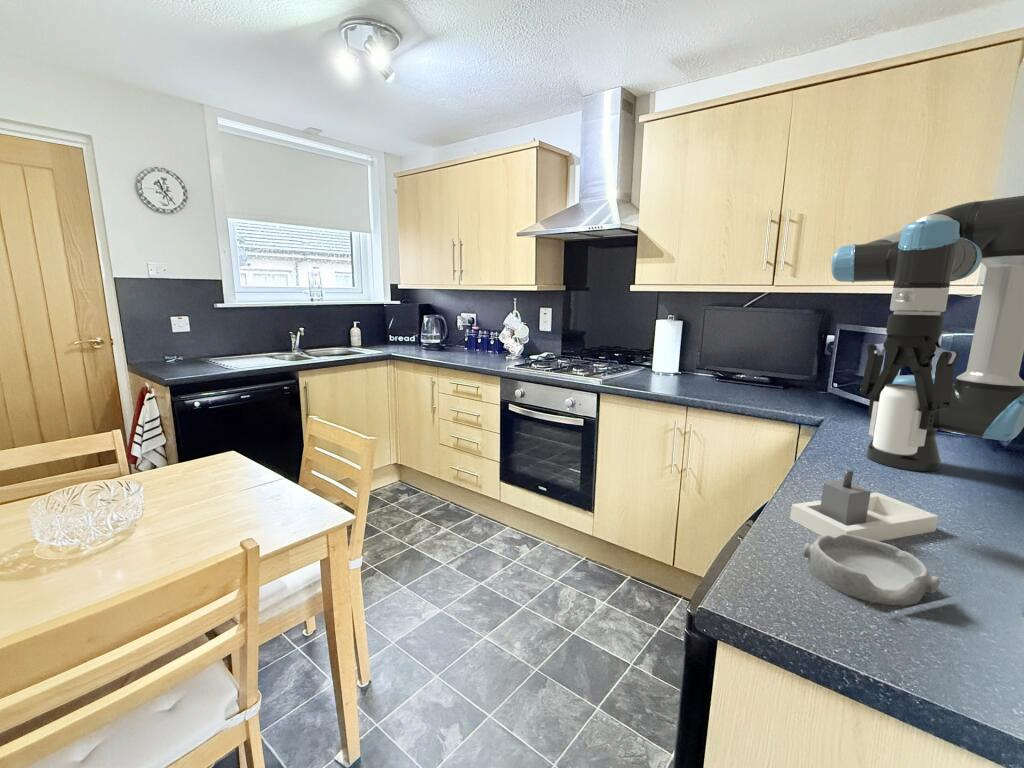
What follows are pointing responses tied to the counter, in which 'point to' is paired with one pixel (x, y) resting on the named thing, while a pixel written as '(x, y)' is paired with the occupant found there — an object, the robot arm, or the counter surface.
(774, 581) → the counter surface
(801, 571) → the counter surface
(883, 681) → the counter surface
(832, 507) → the seated block
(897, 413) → the can
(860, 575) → the dish
